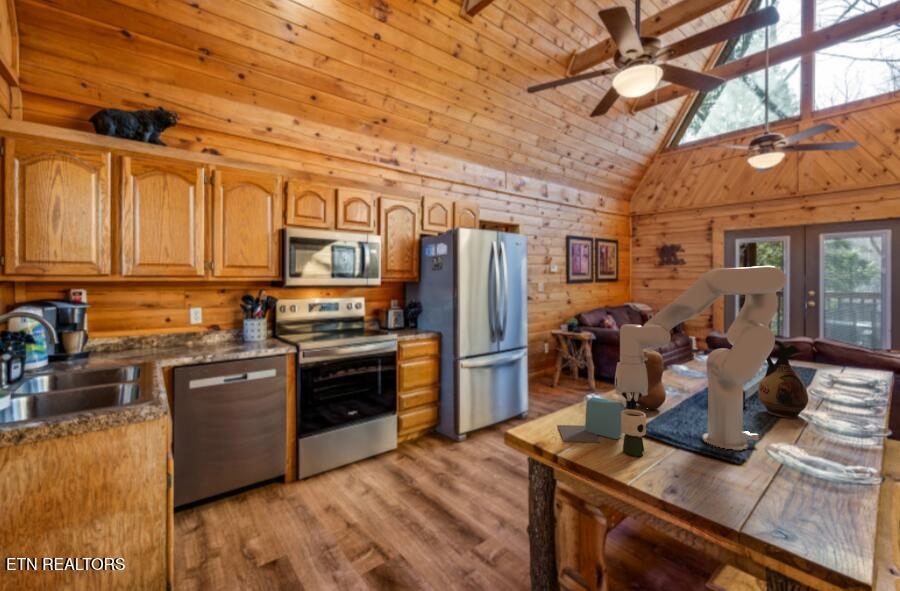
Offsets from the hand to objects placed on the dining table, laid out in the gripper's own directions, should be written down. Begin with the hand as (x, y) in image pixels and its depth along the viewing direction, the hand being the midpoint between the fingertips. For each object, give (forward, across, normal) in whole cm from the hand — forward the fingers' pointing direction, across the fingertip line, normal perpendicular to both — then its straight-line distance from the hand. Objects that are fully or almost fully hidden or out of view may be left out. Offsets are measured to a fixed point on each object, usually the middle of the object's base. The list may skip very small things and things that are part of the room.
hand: (631, 411), depth 141 cm
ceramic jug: (+9, -66, -28) cm, 72 cm away
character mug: (+9, +4, +15) cm, 18 cm away
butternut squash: (+9, -17, -32) cm, 37 cm away
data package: (+9, +9, 0) cm, 13 cm away
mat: (+9, +18, 0) cm, 20 cm away
